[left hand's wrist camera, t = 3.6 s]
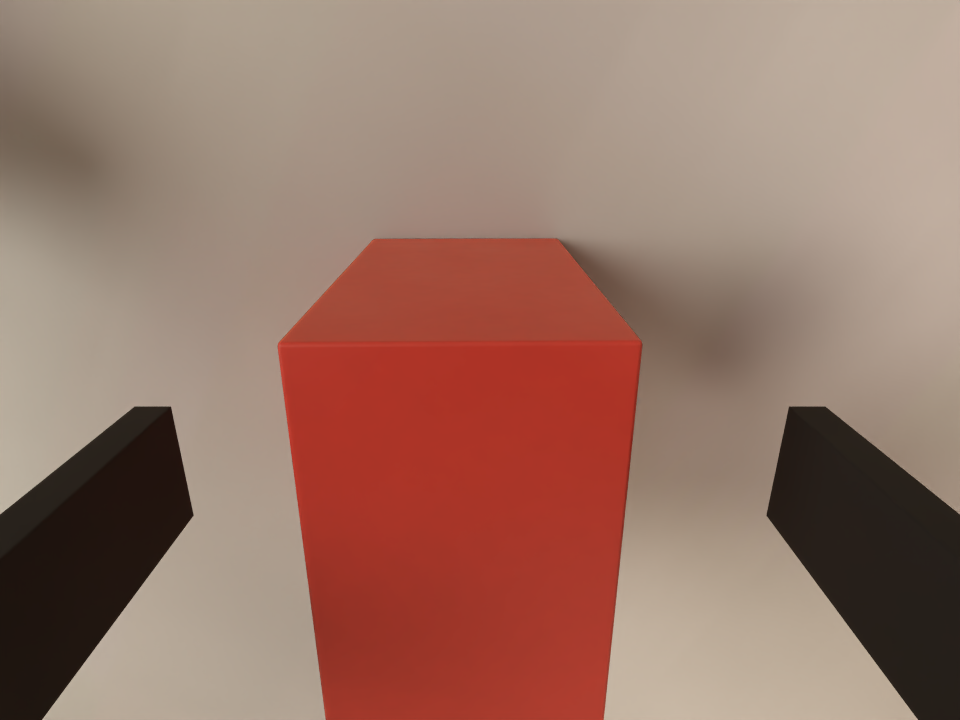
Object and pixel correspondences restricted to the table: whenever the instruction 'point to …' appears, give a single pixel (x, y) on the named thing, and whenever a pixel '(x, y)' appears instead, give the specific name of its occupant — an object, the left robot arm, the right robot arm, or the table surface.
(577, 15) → the table surface
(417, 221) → the table surface
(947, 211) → the table surface
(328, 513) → the block
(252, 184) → the table surface
